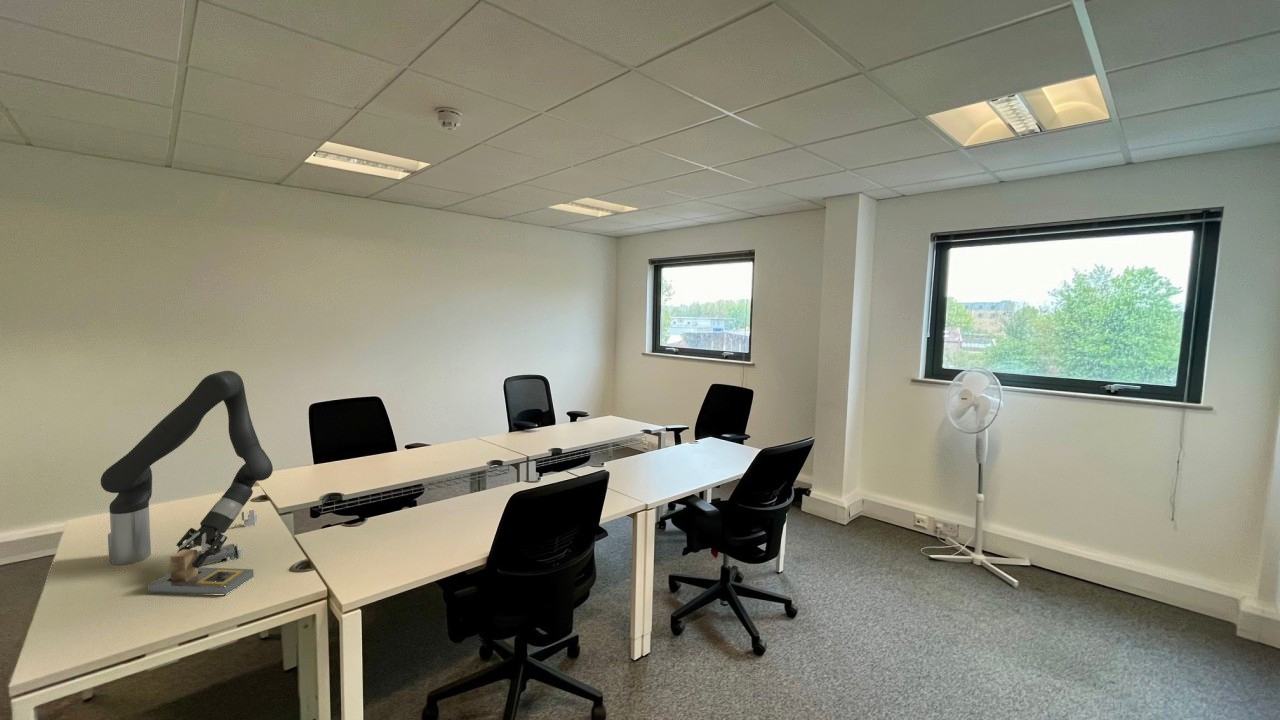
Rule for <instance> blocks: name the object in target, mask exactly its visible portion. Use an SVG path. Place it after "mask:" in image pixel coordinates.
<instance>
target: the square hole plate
mask: <svg viewBox="0 0 1280 720" xmlns="http://www.w3.org/2000/svg"><path fill="white" fill-rule="evenodd" d="M254 574H255V573H254V569H250V568H228V567H227V568H226V567H205V566H204V567H203V566H200V567H199V568H198V575H196V576H195V577H193V578H191V579H189V580H188V581H186V582H182V581H171V572H169V573H167V574H166V575H163V576H162V577H160V578H158V579H156V580H154V581H153V582H150V583H149V584H147V589H148V591H147V592H148V594H167V595H169V594H170V595H172V594H173V595H190V594H224V595H226V594H227V593H228V592H230V591H232V590H233V589H235V588H236V589H238V588H239V587H241V586H242V585H244V584H245V583H247V582H248V581H249V579H250V580H251V579H252V577H253V578H254ZM219 579H221V580H220V581H219ZM223 579H225V580H223ZM217 580H218V581H217ZM215 581H216V582H215ZM246 581H247V582H246ZM244 582H245V583H244ZM243 583H244V584H243ZM241 584H242V585H241ZM240 585H241V586H240ZM238 586H239V587H238ZM237 587H238V588H237ZM236 589H235V590H236ZM233 591H234V590H233ZM233 591H232V592H233ZM230 593H231V592H230ZM227 595H228V594H227ZM227 595H226V596H227Z"/></svg>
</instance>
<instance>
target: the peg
mask: <svg viewBox="0 0 1280 720" xmlns="http://www.w3.org/2000/svg"><path fill="white" fill-rule="evenodd" d="M197 551H198V550H197V549H190V550H185V549H183V550H181V551H179V552H178V551H177V552H175V553H174V554H171V555H170V556H169V561H170V573H171V581H182V582H186V581H188V580H189V579H191V578H193V577H195V576H196V575H198V568H195V567H193V566H192V563H193V562H194V561H195V559H196V558H197V557H198V555H197Z"/></svg>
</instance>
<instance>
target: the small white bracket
mask: <svg viewBox="0 0 1280 720" xmlns="http://www.w3.org/2000/svg"><path fill="white" fill-rule="evenodd" d="M241 521H243V522H244V523H243V525H244V526H243V527H244V528H247V527H246V526H248V527H252V526H251V525H253V526H255V525H256V523H257V522H258V514H255V509H250V510H248V514H247V519H245V511H241ZM256 521H257V522H256Z"/></svg>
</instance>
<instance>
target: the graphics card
mask: <svg viewBox="0 0 1280 720" xmlns="http://www.w3.org/2000/svg"><path fill="white" fill-rule="evenodd" d="M235 543H236V546H235ZM235 543H230V544H225V545H224V544H223V545H222V547H221V548H220V550H219V551H218V553H217V554H216V555H210V556H208V557H207V558H206V560H205V561H204V562H203V564H202V566H205V565H204V564H207V565H209V564H208V563H211V564H215V563H214V562H216V563H218V562H221V561H222V560H223V559H224V560H223V561H224V562H223V563H226V562H227V563H228V562H231V561H230V558H231V560H232V561H235V560H238V559H243V549H241V548H240V546H238V540H237V539H236V542H235ZM215 548H216V546H215V547H214V549H213V550H215ZM235 551H236V552H235ZM201 552H202V549H201V550H197V555H198V556H199V554H202V553H201ZM235 558H236V559H235ZM234 559H235V560H234Z"/></svg>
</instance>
